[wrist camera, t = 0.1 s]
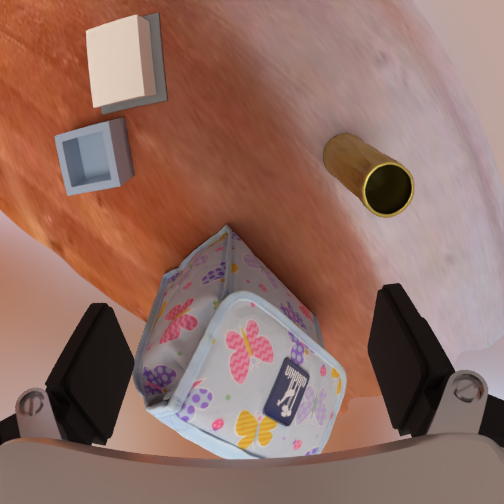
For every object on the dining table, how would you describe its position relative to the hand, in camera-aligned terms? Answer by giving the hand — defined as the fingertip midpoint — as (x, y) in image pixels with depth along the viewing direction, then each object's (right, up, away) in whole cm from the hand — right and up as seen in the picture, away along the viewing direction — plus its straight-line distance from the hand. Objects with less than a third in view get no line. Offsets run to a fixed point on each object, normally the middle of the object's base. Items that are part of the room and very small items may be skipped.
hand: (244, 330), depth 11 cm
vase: (+12, +15, +28) cm, 34 cm away
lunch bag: (0, -4, +38) cm, 38 cm away
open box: (-20, +16, +27) cm, 37 cm away
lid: (-15, +26, +21) cm, 36 cm away
